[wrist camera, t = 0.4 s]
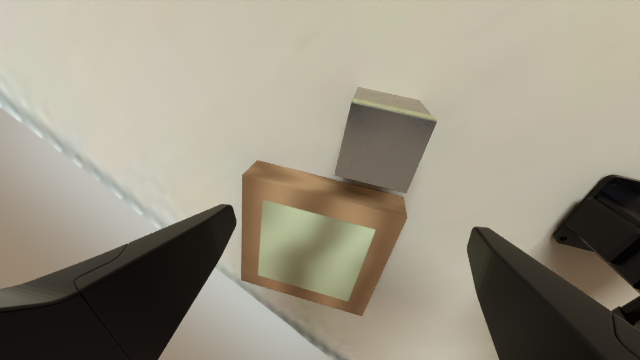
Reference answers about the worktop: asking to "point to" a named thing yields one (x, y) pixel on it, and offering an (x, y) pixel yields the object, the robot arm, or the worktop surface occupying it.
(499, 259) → the robot arm
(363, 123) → the grey box
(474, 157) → the worktop surface
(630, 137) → the worktop surface
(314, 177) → the platform
